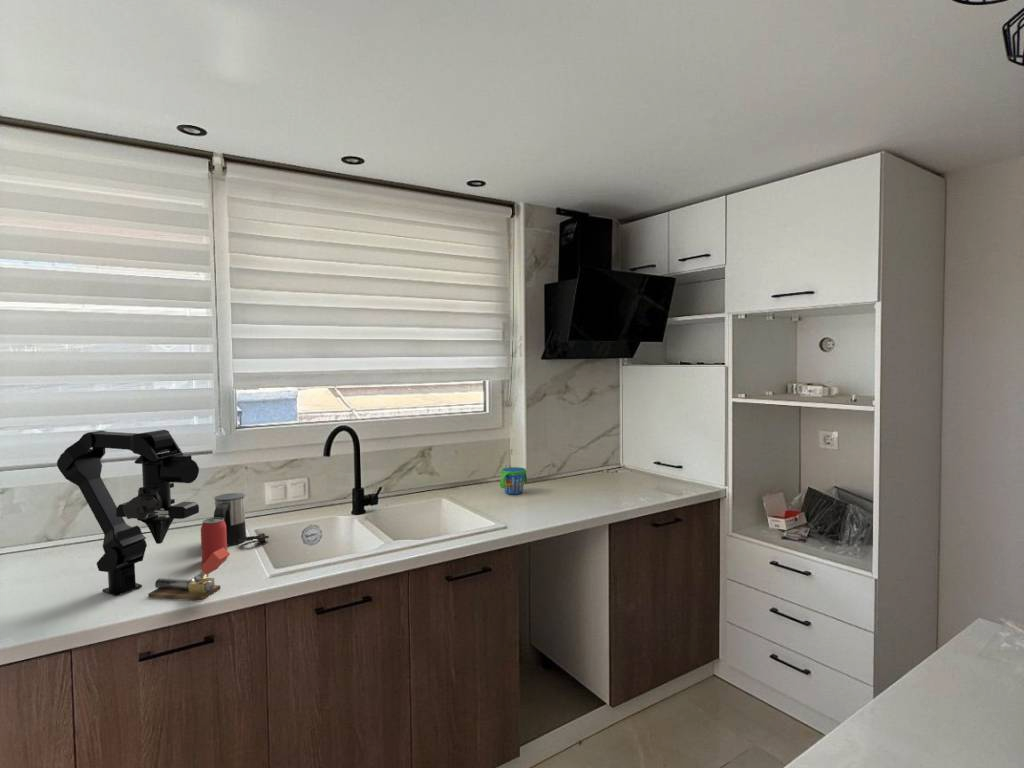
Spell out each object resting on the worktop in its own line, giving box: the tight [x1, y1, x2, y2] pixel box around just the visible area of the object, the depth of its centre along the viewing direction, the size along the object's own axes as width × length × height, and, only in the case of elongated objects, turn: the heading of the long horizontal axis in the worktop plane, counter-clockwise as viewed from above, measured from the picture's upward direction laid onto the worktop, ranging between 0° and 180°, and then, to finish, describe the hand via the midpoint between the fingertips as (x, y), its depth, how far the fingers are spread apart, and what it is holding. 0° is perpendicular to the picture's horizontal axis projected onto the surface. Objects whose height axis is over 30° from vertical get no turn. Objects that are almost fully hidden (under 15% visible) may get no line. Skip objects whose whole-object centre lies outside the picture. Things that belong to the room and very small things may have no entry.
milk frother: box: [213, 492, 270, 546], centre depth 183 cm, size 14×16×15 cm
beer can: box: [200, 517, 228, 564], centre depth 166 cm, size 7×7×12 cm
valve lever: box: [193, 547, 231, 582], centre depth 142 cm, size 2×4×9 cm
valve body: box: [154, 577, 215, 594], centre depth 144 cm, size 14×4×3 cm, turn 81°
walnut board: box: [147, 584, 221, 601], centre depth 144 cm, size 14×7×1 cm, turn 81°
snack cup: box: [499, 466, 528, 496], centre depth 243 cm, size 16×10×10 cm
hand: (159, 543), depth 143 cm, fingers closed
